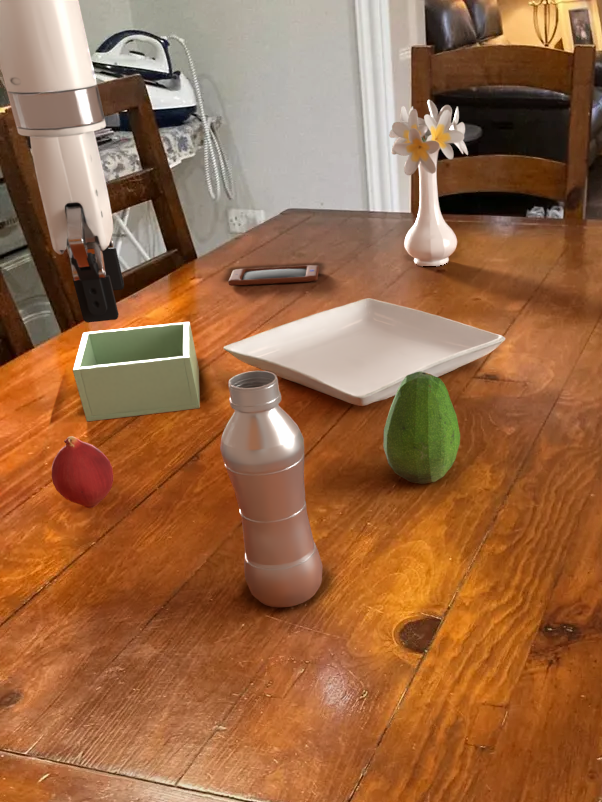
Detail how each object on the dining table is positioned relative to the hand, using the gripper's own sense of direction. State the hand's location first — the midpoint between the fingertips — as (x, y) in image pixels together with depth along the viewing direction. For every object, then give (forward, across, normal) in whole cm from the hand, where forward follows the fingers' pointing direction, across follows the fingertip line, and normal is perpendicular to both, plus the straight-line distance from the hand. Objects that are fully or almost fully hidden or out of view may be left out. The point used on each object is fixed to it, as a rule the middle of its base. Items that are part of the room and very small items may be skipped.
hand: (105, 304), depth 93 cm
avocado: (+18, +11, +29) cm, 36 cm away
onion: (+18, +7, -5) cm, 20 cm away
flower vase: (+18, -68, +47) cm, 85 cm away
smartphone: (+18, -68, +19) cm, 73 cm away
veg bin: (+18, -22, -1) cm, 29 cm away
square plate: (+18, -23, +28) cm, 41 cm away
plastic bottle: (+18, +29, +13) cm, 37 cm away
